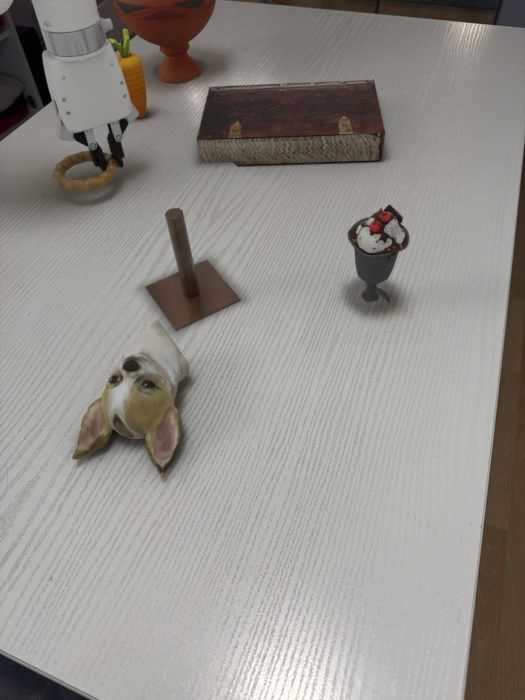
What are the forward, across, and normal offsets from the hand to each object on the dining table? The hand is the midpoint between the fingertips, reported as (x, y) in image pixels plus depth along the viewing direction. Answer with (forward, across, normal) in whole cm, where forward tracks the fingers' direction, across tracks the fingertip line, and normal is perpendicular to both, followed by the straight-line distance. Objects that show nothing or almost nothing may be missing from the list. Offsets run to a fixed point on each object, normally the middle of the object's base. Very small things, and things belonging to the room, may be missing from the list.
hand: (110, 165), depth 84 cm
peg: (+3, +1, +30) cm, 30 cm away
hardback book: (+3, -31, +4) cm, 31 cm away
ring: (0, +4, 0) cm, 4 cm away
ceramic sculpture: (+4, +13, +43) cm, 45 cm away
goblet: (+3, -26, -30) cm, 39 cm away
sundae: (+3, -17, +43) cm, 46 cm away
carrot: (+4, -12, -17) cm, 21 cm away
